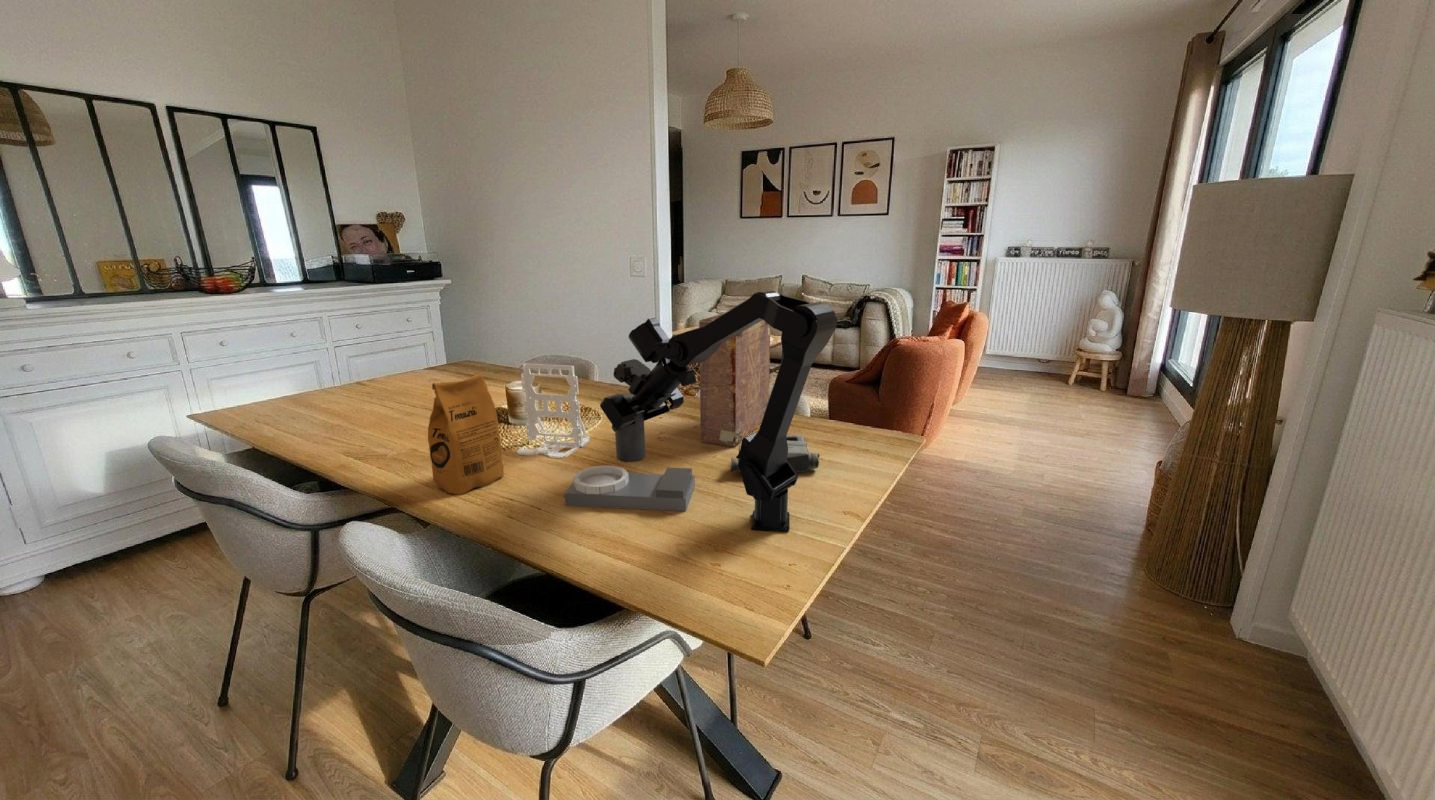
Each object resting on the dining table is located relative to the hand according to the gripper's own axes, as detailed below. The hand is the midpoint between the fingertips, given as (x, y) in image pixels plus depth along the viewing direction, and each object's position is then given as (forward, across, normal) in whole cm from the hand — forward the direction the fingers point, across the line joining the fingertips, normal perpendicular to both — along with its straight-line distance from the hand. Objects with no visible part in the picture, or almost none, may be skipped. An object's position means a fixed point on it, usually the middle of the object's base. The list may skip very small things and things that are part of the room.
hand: (624, 425), depth 117 cm
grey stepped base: (+2, +7, +14) cm, 15 cm away
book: (+6, -38, +9) cm, 40 cm away
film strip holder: (+27, -2, -11) cm, 29 cm away
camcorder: (-8, -24, +24) cm, 35 cm away
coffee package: (+24, +22, -9) cm, 34 cm away
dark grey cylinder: (+4, 0, +6) cm, 7 cm away
